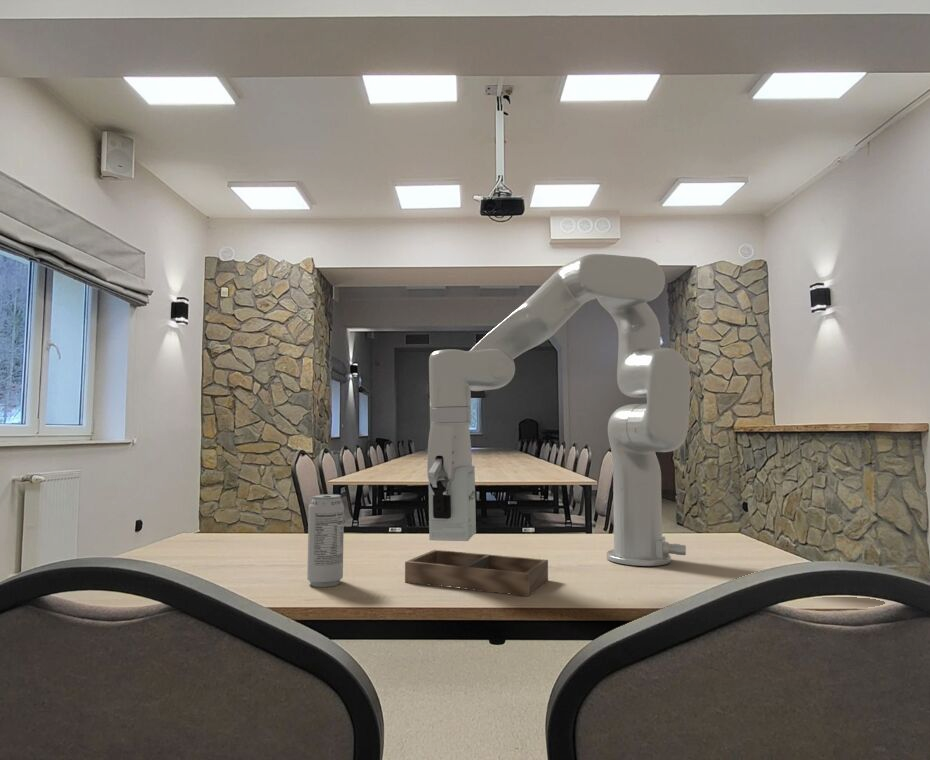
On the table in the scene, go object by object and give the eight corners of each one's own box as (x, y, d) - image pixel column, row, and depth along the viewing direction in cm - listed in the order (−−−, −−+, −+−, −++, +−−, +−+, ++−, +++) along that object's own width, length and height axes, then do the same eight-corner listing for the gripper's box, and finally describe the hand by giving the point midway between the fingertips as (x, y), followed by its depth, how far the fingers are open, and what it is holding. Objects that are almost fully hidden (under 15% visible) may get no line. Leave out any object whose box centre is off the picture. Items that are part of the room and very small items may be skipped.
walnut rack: (548, 580, 110) (547, 559, 110) (528, 596, 99) (527, 574, 100) (434, 568, 119) (434, 549, 119) (404, 582, 108) (405, 561, 109)
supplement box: (469, 541, 108) (467, 468, 109) (428, 541, 109) (426, 468, 110) (477, 533, 115) (475, 465, 116) (438, 533, 116) (437, 465, 117)
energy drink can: (339, 577, 111) (341, 493, 112) (345, 586, 106) (346, 496, 107) (305, 580, 109) (307, 494, 110) (309, 589, 104) (310, 498, 105)
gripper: (451, 417, 123) (453, 507, 122) (409, 418, 107) (411, 521, 106) (487, 416, 120) (489, 508, 119) (449, 417, 104) (451, 523, 103)
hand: (452, 514), depth 112 cm, fingers closed on supplement box, 8 cm apart
